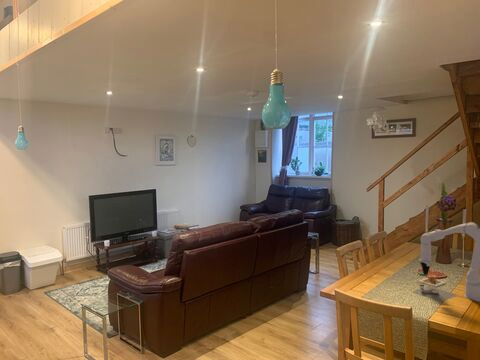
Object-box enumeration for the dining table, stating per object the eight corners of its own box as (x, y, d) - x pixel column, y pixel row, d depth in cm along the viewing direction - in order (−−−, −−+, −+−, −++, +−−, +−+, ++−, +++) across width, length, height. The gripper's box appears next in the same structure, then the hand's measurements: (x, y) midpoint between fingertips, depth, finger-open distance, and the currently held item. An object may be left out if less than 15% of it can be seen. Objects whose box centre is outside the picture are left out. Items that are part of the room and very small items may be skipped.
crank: (437, 292, 219) (437, 284, 219) (439, 294, 215) (439, 287, 215) (418, 290, 222) (418, 283, 222) (419, 293, 218) (419, 285, 218)
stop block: (434, 282, 237) (434, 275, 237) (436, 284, 233) (436, 277, 233) (427, 282, 238) (427, 274, 238) (429, 284, 234) (429, 276, 234)
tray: (445, 285, 234) (445, 282, 234) (435, 288, 228) (435, 285, 228) (428, 280, 243) (428, 277, 243) (419, 283, 237) (419, 280, 237)
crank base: (458, 296, 215) (458, 294, 215) (441, 303, 206) (441, 301, 205) (428, 287, 230) (428, 285, 230) (411, 293, 221) (411, 291, 221)
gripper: (416, 249, 234) (415, 270, 235) (421, 255, 220) (421, 277, 221) (427, 250, 233) (427, 270, 234) (434, 256, 219) (434, 278, 220)
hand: (425, 274), depth 227 cm, fingers closed
